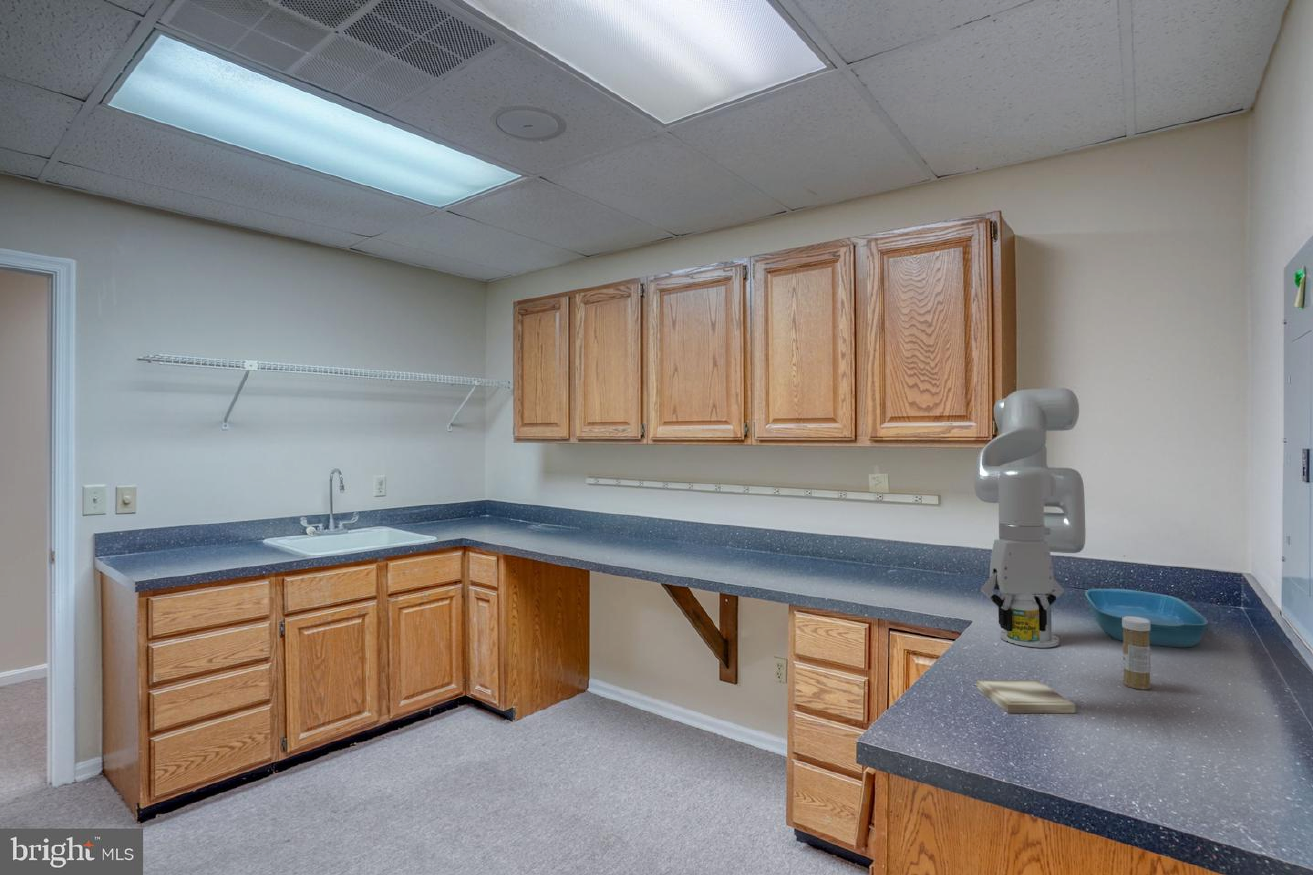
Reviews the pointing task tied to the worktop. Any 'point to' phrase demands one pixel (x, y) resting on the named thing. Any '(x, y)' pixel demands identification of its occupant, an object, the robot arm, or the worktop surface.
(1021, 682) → the cream square tray
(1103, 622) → the casserole dish
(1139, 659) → the sprinkles bottle
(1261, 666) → the worktop surface
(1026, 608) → the supplement bottle
